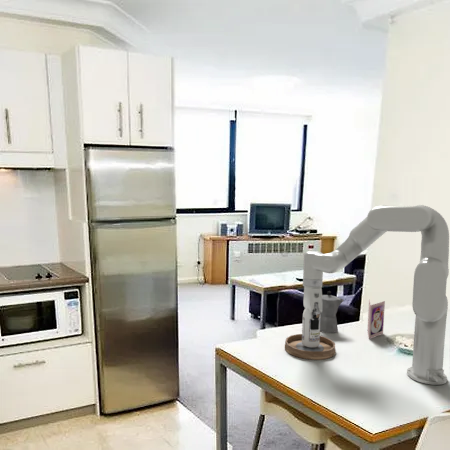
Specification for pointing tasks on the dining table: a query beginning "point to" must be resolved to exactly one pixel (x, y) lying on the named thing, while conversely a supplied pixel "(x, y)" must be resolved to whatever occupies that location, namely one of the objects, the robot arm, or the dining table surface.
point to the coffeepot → (329, 313)
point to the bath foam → (309, 331)
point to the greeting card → (375, 319)
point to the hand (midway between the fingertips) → (311, 325)
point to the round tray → (310, 348)
